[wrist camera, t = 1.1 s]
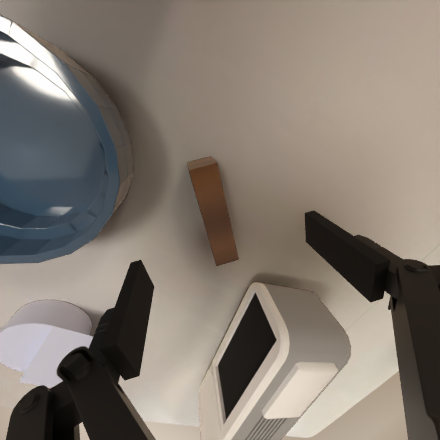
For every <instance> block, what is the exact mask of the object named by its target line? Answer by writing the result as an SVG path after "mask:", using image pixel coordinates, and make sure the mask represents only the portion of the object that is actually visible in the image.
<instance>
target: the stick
mask: <svg viewBox="0 0 440 440" xmlns="http://www.w3.org/2000/svg"><path fill="white" fill-rule="evenodd" d="M187 164H188V169H189V173H190V177H191V180H192V184H193V187H194V191H195V194H196V197H197V201H198V204H199V208H200V211H201V215H202V218H203V221H204V225H205V228H206V232H207V235H208V239H209V242H210V245H211V249H212V252H213V256H214V259H215V263H216V266H219V265H222V264H226V263H229V262H232V261H236V260H239V258H238V254H237V249H236V245H235V240H234V236H233V232H232V227H231V223H230V218H229V214H228V209H227V205H226V200H225V196H224V191H223V187H222V182H221V178H220V173H219V169H218V164H217V162H216V161H215V160H214V159H213V158H212V157H211V156H210V157H206V158H202V159H198V160H195V161H191V162H188V163H187Z"/></svg>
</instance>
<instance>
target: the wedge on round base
mask: <svg viewBox="0 0 440 440" xmlns="http://www.w3.org/2000/svg"><path fill="white" fill-rule="evenodd" d="M91 327H92V324H91V320H90V318H89V316H88V315H87V314H86V313H85V312H84V311H83V310H82V309H80V308H78V307H77V306H75V305H73V304H70V303H67V302H63V301H57V300H41V301H35V302H32V303H29V304H26V305H24V306H23V307H21V308H20V309H19V310H17V312H16V313H15V314H14V315H13V316H12V317H11V319H10V320H9V321H8V322H7V323H6V324H5V326H4V327H3V328H2V329H1V330H0V363H1V364H3V365H5V366H7V367H8V368H11V369H13V370H17V371H21V372H24V374H23V376H22V377H21V379H20V381H19V382H21V383H27V384H33V385H40V386H42V385H44V386H46V387H54V386H56V385H57V384H59V383H61V382H62V381H63V380H62V379H61V378H59V377H58V376H57V368H58V365H59V363H60V362H61V361H62V359H63V358H64V357H65V356H66V355H67V354H68V353H69V352H71V351H72V350H74V349H75V348H78V347H81V346H86V347H87V348H88V349H89V346H90V344H91V341H92V339H93V336H89V334H90V331H91Z"/></svg>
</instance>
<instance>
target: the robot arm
mask: <svg viewBox="0 0 440 440" xmlns="http://www.w3.org/2000/svg"><path fill="white" fill-rule="evenodd" d="M305 230H306V242H307V243H308V244H309V245H310V246H311V247H312V248H313V249H314V250H315V251H316V252H317V253H318V254H319V255H320V256H322V257H323V258H324V259H325V260H326V261H327V262H328V263H329V264H330V265H331V266H332V267H333V268H334V269H335V270H336V271H338V272H339V273H340V274H341V275H342V276H343V277H344V278H345V279H346V280H347V281H348V282H349V283H350V284H351V285H352V286H353V287H355V288H356V289H357V290H358V291H359V292H360V293H361V294H362V295H363V296H364V297H365V298H366V299H367V300H368V301H369V302H373V301H376V300H380V299H383V296H384V291H386V292H387V293H388V294H390V295H391V297H390V301H389V306H388V310H390V309H391V313H392V320H393V328H394V336H395V343H396V351H397V358H398V366H399V373H400V381H401V388H402V396H403V403H404V411H405V419H406V426H407V434H408V440H440V265H433V266H428V265H426V264H425V263H423V262H420V261H417V260H412V259H405V260H403V259H402V258H400V257H398V256H397V255H395V254H393V253H392V252H390V251H388V250H387V249H385V248H383V247H381V246H380V245H378V244H377V243H375V242H374V241H372V240H370V239H369V238H367V237H363V236H360V235H356V236H353V235H351V234H350V233H348V232H346V231H345V230H343V229H342V228H340V227H339V226H337V225H336V224H334V223H333V222H331V221H329V220H328V219H326V218H325V217H323V216H322V215H320V214H319V213H317V212H316V211H310V212H307V213H305ZM153 290H154V285H153V283H152V281H151V279H150V277H149V275H148V273H147V271H146V269H145V267H144V265H143V263H142V261H141V260H139V261H135V262H132V263H131V264H130V267H129V269H128V272H127V275H126V278H125V280H124V283H123V286H122V289H121V291H120V294H119V297H118V300H117V302H116V305H115V308H112V309H108V310H107V311H106V312H105V314H104V315H103V316H102V317H101V319H100V322H99V324H98V327H97V329H96V332H95V334H94V336H93V339H92V341H91V344H90V346H89V349H88V348H87V347H86V346H81V347H78V348H75V349H74V350H72V351H71V352H69V353H68V354H67V355H66V356H65V357H64V358H63V359H62V361H61V362H60V363H59V365H58V368H57V376H58V377H59V378H61V379H62V380H63V381H62V382H61V383H59V384H57V385H56V386H54V387H52V388H51V389H49V388H47V387H46V386H44V385H42V386H38V387H36V388H34V389H32V390H31V391H29V392H28V393H27V394H26V395H25V396H24V397H23V398H22V399H21V400H20V401H19V402H18V403H17V405H16V406H15V408H14V409H13V412H12V414H11V417H10V422H9V427H8V432H7V437H6V440H80V433H79V424H80V423H81V422H83V424H84V427H85V429H86V432H87V434H88V436H89V439H90V440H155V438H154V436H153V435H152V433H151V432H150V430H149V429H148V427H147V426H146V424H145V423H144V421H143V420H142V418H141V417H140V415H139V414H138V412H137V411H136V409H135V408H134V406H133V405H132V403H131V402H130V400H129V399H128V397H127V396H126V394H125V393H124V391H123V390H122V388H121V387H120V385H119V384H118V381H119V377H120V375H121V376H122V378H123V379H124V380H128V379H131V378H134V377H137V376H139V375H140V369H141V363H142V357H143V351H144V345H145V339H146V333H147V327H148V320H149V314H150V308H151V302H152V296H153Z"/></svg>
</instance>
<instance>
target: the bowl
mask: <svg viewBox="0 0 440 440" xmlns="http://www.w3.org/2000/svg"><path fill="white" fill-rule="evenodd" d="M133 170H134V168H133V156H132V144H131V140H130V137H129V135H128V132H127V130H126V127H125V124H124V122H123V119H122V117H121V114H120V112H119V111H118V109H117V107H116V106H115V104H114V103H113V102H112V100H111V99H110V98H109V96H108V95H107V94H106V92H105V91H104V90H103V88H102V87H101V86H100V84H99V83H98V81H97V80H96V79H95V78H94V77H93V76H92V75H91V74H89V73H88V72H87V71H86V70H84V69H83V68H82V67H81V66H80V65H78V64H77V63H76V62H75V61H74V60H72V59H71V58H70V57H69V56H68V55H66V54H65V53H64V52H63V51H61V50H60V49H58V48H57V47H55V46H53V45H52V44H50V43H48V42H47V41H45V40H43V39H42V38H40V37H38V36H37V35H35V34H34V33H32V32H30V31H29V30H27V29H25V28H24V27H22V26H20V25H19V24H17V23H15V22H14V21H12V20H10V19H8V18H6V17H4V16H2V15H0V264H14V263H39V262H43V261H46V260H50V259H54V258H57V257H61V256H64V255H68V254H71V253H73V252H74V251H76V250H77V249H79V248H81V247H82V246H84V245H85V244H87V243H88V242H90V241H91V240H93V239H94V238H95V237H97V235H98V234H99V232H100V231H101V230H102V228H103V227H104V226H105V224H106V223H107V221H108V220H109V219H110V217H111V216H112V215H113V213H114V212H115V211H116V209H117V208H118V206H119V205H120V204H121V202H122V201H123V200H124V198H125V197H126V196H127V193H128V189H129V186H130V182H131V178H132V175H133Z"/></svg>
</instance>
